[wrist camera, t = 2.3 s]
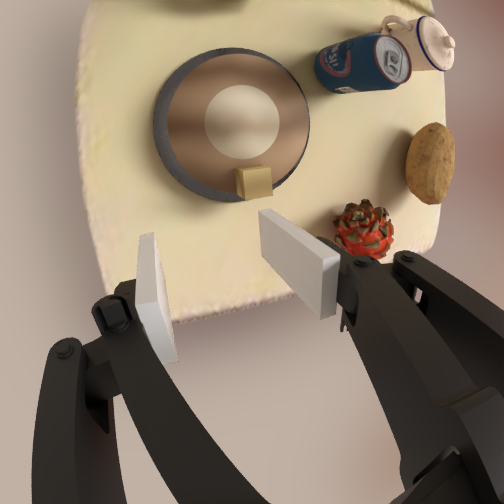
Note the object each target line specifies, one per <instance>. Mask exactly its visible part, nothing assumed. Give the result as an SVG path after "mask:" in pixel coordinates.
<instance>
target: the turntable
mask: <svg viewBox="0 0 504 504" xmlns="http://www.w3.org/2000/svg"><path fill="white" fill-rule="evenodd" d="M308 129H309V117H308V110H307V106H306V102H305V100H304V97H303V95H302V93H301V91H300V89H299V87H298V86H297V84H296V83H295V81H294V80H293V79H292V78H291V77H290V76H289V75H288V74H287V73H286V72H285V71H284V70H283V69H282V68H280V67H279V66H277V65H276V64H274V63H273V62H271V61H268V60H266V59H264V58H261V57H258V56H254V55H248V54H227V55H223V56H218V57H216V58H213V59H210V60H208V61H206V62H204V63H202V64H200V65H199V66H198V67H196V68H195V69H194V70H192V71H191V72H190V73H189V74H188V75H187V76H186V77H185V78H184V80H183V81H182V82H181V83H180V85H179V87H178V88H177V90H176V92H175V94H174V96H173V98H172V101H171V103H170V107H169V111H168V117H167V132H168V137H169V142H170V145H171V148H172V150H173V152H174V154H175V156H176V158H177V159H178V161H179V162H180V164H181V165H182V166H183V167H184V168H185V169H186V170H187V172H188V173H189V174H191V175H192V176H193V177H194V178H195V179H197V180H198V181H200V182H201V183H203V184H205V185H207V186H209V187H211V188H213V189H216V190H220V191H223V192H230V193H237V195H239V196H240V197H242V198H243V199H244V200H250V199H256V198H261V197H267V196H273V190H272V184H274V183H276V182H277V181H279V180H280V179H282V178H283V177H284V176H285V175H286V174H287V173H288V172H289V171H290V170H291V169H292V168H293V167H294V166H295V164H296V163H297V161H298V160H299V158H300V156H301V154H302V152H303V150H304V147H305V144H306V141H307V136H308Z"/></svg>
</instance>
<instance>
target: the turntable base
mask: <svg viewBox="0 0 504 504" xmlns="http://www.w3.org/2000/svg"><path fill="white" fill-rule="evenodd" d="M227 54H248V55H254V56H258V57H261V58H264V59H266V60H268V61H271V62H273V63H274V64H276V65H277V66H279V67H280V68H282V69H283V70H284V71H285V72H286V73H287V74H288V75H289V76H290V77H291V78H292V79H293V80H294V81H295V83H296V84H297V86H298V87H299V89H300V91H301V93H302V95H303V97H304V100H305V102H306V99H305V96H304V94H303V91H302V90H301V88H300V86H299V84H298V83H297V81H296V80H295V79H294V77H293V76H292V75H291V74H290V73H289V72H288V70H287V69H286V68H284V67H283V66H282V65H281V64H280V63H278V62H277V61H275V60H274V59H272V58H270V57H268V56H266V55H264V54H262V53H259V52H256V51H253V50H249V49H243V48H221V49H216V50H211V51H208V52H205V53H202V54H200V55H198V56H196V57H194V58H192V59H190V60H189V61H187V62H186V63H185V64H183V65H182V66H181V67H180V68H179V69H177V70H176V71H175V72H174V73H173V75H172V76H171V77H170V78H169V80H168V81H167V82H166V84H165V86H164V87H163V89H162V91H161V93H160V95H159V98H158V100H157V104H156V108H155V112H154V122H153V126H154V137H155V142H156V146H157V149H158V152H159V155H160V157H161V159H162V161H163V163H164V164H165V166H166V167H167V169H168V170H169V172H170V173H171V174H172V175H173V176H174V177H175V178H176V179H177V180H178V181H179V182H180V183H181V184H182V185H184V186H185V187H186V188H188V189H189V190H191V191H193V192H194V193H196V194H199V195H201V196H203V197H206V198H209V199H213V200H218V201H225V202H237V201H245V200H244V199H243V198H242V197H240V196H239V195H237V193H230V192H223V191H220V190H216V189H213V188H211V187H209V186H207V185H205V184H203V183H201V182H200V181H198V180H197V179H195V178H194V177H193V176H192V175H191V174H189V173H188V172H187V170H186V169H185V168H184V167H183V166H182V165H181V164H180V162H179V161H178V159H177V158H176V156H175V154H174V152H173V150H172V148H171V145H170V142H169V137H168V132H167V117H168V111H169V107H170V103H171V101H172V98H173V96H174V94H175V92H176V90H177V88H178V87H179V85H180V83H181V82H182V81H183V80H184V78H185V77H186V76H187V75H188V74H189V73H190V72H191V71H192V70H194V69H195V68H196V67H198V66H199V65H200V64H202V63H204V62H206V61H208V60H210V59H213V58H216V57H218V56H223V55H227ZM306 106H307V102H306ZM307 110H308V106H307ZM308 117H309V110H308ZM309 131H310V117H309V129H308V136H307V141H306V144H305V147H304V150H303V152H302V154H301V156H300V158H299V160H298V161H297V163H296V164H295V166H294V167H293V168H292V169H291V170H290V171H289V172H288V173H287V174H286V175H285V176H284V177H283V178H282V179H280V180H279V181H277V182H276V183H274V184H272V190H274V189H275V188H276V187H278V186H279V185H281V184H282V183H283V182H284V181H285V180H286V179H287V178H288V177H289V176H290V175H291V174H292V173H293V172H294V170H295V169H296V167H297V166H298V164H299V163H300V161H301V159H302V157H303V155H304V152H305V149H306V147H307V143H308V138H309Z"/></svg>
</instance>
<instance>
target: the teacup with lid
mask: <svg viewBox="0 0 504 504" xmlns="http://www.w3.org/2000/svg"><path fill="white" fill-rule="evenodd" d="M391 22H395V23H397V24H393V25H389V26H388V25H387V24H388V23H391ZM382 28H383V30H382V31H381V34H384V35H392V36H394V37H396V38H397V39H398V40H400V41H401V42H402V44H403V45H404V46H405V48H406V49H407V51H408V53H409V56H410V59H411V64H412V71H424V70H439V71H447V70H449V69H450V68H451V67H452V65H453V62H454V50H453V48H454V47H455V42H454V40H453V38H452V37H451V36H449V35H448V34H447V32H446V30H445V29H444V27H443V26H442V25H441V24H440V23H439V22H438V21H437V20H435V19H433V18H431V17H427V16H422V17H420V18H419V19H415V20H410V21H406V20H405V19H403V18H401V17H399V16H394V15H391V16H387V17H385V18H384V19H383V20H382Z"/></svg>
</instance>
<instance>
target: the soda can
mask: <svg viewBox="0 0 504 504" xmlns="http://www.w3.org/2000/svg"><path fill="white" fill-rule="evenodd" d="M314 70H315V74H316V77H317V79H318V80H319V82H320V83H321V84H322V85H323V86H324V87H325V88H327V89H328V90H330V91H332V92H334V93H338V94H345V93H354V92H364V91H376V90H391V89H395V88H397V87H398V86H399V85H400V84H403V83H405V82H407V81H408V80H409V78H410V76H411V72H412V64H411V59H410V56H409V53H408V51H407V49H406V48H405V46H404V45H403V44H402V42H401V41H400V40H398V39H397V38H396V37H394V36H392V35H384V34H380V33H375V32H373V33H368V34H365V35H362V36H358V37H355V38H352V39H349V40H346V41H343V42H340V43H337V44H334V45H331V46H329V47H326V48H324V49H322V50H321V51H320V52H319V53H318V54H317V56H316V59H315V64H314Z"/></svg>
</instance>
